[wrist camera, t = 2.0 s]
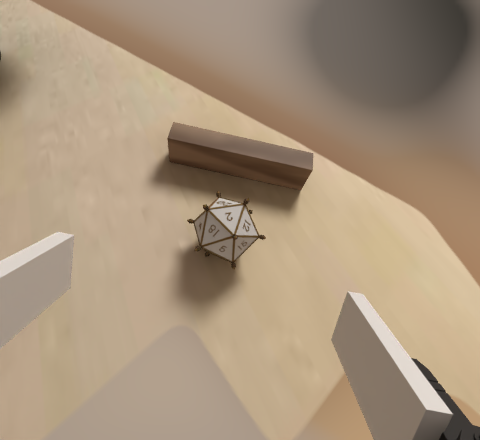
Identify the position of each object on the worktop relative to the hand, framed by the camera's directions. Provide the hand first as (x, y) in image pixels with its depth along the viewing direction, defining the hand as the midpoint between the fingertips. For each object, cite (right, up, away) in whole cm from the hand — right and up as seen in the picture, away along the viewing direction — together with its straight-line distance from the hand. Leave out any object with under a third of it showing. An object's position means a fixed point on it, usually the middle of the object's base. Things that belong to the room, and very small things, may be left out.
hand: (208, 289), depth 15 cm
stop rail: (+1, +11, +32) cm, 34 cm away
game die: (-1, 0, +26) cm, 26 cm away
